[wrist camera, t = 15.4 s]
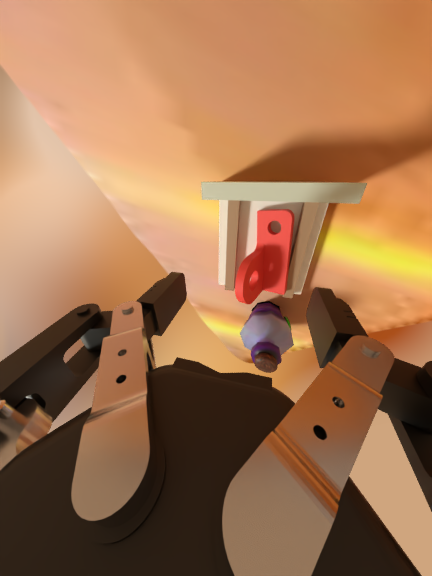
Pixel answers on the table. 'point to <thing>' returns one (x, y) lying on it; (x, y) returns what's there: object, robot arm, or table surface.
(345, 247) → the table surface
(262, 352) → the potion bottle
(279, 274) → the bracket
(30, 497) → the robot arm
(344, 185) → the cleat board
